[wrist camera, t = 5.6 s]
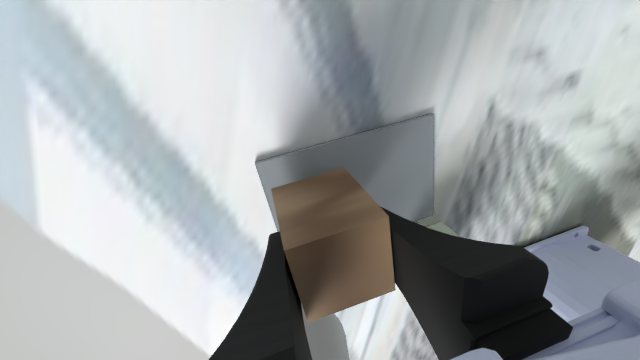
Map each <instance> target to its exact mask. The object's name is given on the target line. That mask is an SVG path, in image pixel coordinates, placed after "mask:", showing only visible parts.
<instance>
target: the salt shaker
mask: <svg viewBox="0 0 640 360" xmlns="http://www.w3.org/2000/svg"><path fill="white" fill-rule="evenodd" d="M301 306H302V303H301ZM302 313H303V320H304V325H305V331H306V335H307V339H308V343H309V348H310V352H311V356H312V360H349V354H348V348H347V342H346V336H345V332H344V329H343V326H342V324H341V322H340V320H339V318H338V317H336V316H335V315H334V314H330V315H328V316H325V317H322V318H320V319H317V320H314V321H312V322H309V323H308V321H307V318H306V315H305V312H304V309H303V306H302Z"/></svg>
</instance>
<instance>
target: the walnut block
mask: <svg viewBox="0 0 640 360" xmlns="http://www.w3.org/2000/svg"><path fill="white" fill-rule="evenodd" d="M271 192H272V196H273V201H274V206H275V211H276V215H277V220H278V225H279V230H280V234H281V239H282V244H283V249H284V252H285V255H286V258H287V261H288V264H289V267H290V270H291V273H292V276H293V279H294V282H295V285H296V288H297V291H298V294H299V297H300V300H301V303H302V306H303V309H304V312H305V315H306V318H307V321H308V323H309V322H312V321H314V320H317V319H320V318H322V317H325V316H328V315H330V314H333V313H336V312H338V311H341V310H344V309H346V308H349V307H352V306H354V305H357V304H360V303H362V302H365V301H368V300H370V299H373V298H376V297H378V296H381V295H384V294H386V293H389V292H392V291H394V290H395V281H394V270H393V258H392V247H391V235H390V224H389V216H388V215H387V214H386V213H385V212H384V210H383V209H382V208H381V207H380V206H379V205H378V204H377V203H376V202H375V201H374V200H373V198H372V197H371V196H370V195H369V194H368V193H367V192H366V191H365V190H364V189H363V188H362V187H361V185H360V184H359V183H358V182H357V181H356V180H355V179H354V178H353V177H352V176H351V175H350V173H349V172H348V171H347V170H346V169H345V168H344V167H343V168H340V169H336V170H333V171H330V172H326V173H323V174H319V175H316V176H312V177H309V178H306V179H302V180H299V181H295V182H292V183H288V184H285V185H282V186H278V187H275V188H271Z"/></svg>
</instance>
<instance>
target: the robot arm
mask: <svg viewBox="0 0 640 360" xmlns="http://www.w3.org/2000/svg"><path fill="white" fill-rule="evenodd" d="M380 207H381V206H380ZM381 208H382V209H383V210H384V212H385V213H386V214H387V215H388V216H389V224H390V235H391V247H392V258H393V270H394V281H395V283H396V285H397V286H398V287H399V289H400V291H401V292H402V294H403V295H404V297H405V298H406V300H407V302H408V304H409V305H410V307H411V309H412V311H413V312H414V314H415V316H416V318H417V319H418V321H419V323H420V325H421V327H422V328H423V330H424V332H425V334H426V336H427V338H428V340H429V341H430V343H431V345H432V347H433V349H434V351H435V353H436V355H437V357H438V359H439V360H640V262H638V261H636V260H634V259H632V258H630V257H628V256H626V255H624V254H622V253H620V252H618V251H616V250H615V249H613V248H611V247H609V246H607V245H605V244H603V243H601V242H599V241H597V240H595V239H593V238H592V237H590V236H588V235H587V234H588V231H589V228H588V227H586V226H584V225H583V226H580V227H577V228H574V229H572V230H569V231H566V232H564V233H561V234H559V235H556V236H553V237H551V238H548V239H545V240H543V241H540V242H537V243H535V244H532V245H530V246H527V247H524V248H523V247H522V246H513V245H504V244H495V243H488V242H482V241H476V240H471V239H466V238H462V237H458V236H453V235H450V234H446V233H442V232H439V231H436V230H433V229H430V228H427V227H424V226H422V225H419V224H417V223H414V222H412V221H410V220H407V219H405V218H403V217H401V216H399V215H397V214H395V213H393V212H391V211H389V210H387V209H385V208H383V207H381ZM209 360H312V356H311V352H310V348H309V343H308V339H307V335H306V331H305V325H304V320H303V313H302V306H301V300H300V297H299V294H298V291H297V288H296V285H295V282H294V279H293V276H292V273H291V270H290V267H289V264H288V261H287V258H286V255H285V252H284V249H283V244H282V239H281V234H280V231H279V232H276V233H273V234H270V236H269V240H268V246H267V250H266V254H265V258H264V261H263V265H262V268H261V271H260V273H259V276H258V279H257V281H256V284H255V286H254V289H253V291H252V293H251V295H250V297H249V299H248V301H247V303H246V305H245V307H244V309H243V310H242V312H241V314H240V316H239V317H238V319H237V321H236V322H235V324H234V325H233V327H232V328H231V330H230V331H229V333H228V334H227V336H226V338H225V339H224V340H223V342H222V343H221V345H220V346H219V347H218V348H217V350H216V351H215V352H214V354H213V355H212V356H211V357H210V359H209Z"/></svg>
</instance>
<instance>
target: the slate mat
mask: <svg viewBox="0 0 640 360" xmlns="http://www.w3.org/2000/svg"><path fill="white" fill-rule="evenodd" d="M255 165H256V168H257V171H258V174H259V177H260V180H261V183H262V186H263V189H264V192H265V195H266V198H267V201H268V204H269V207H270V210H271V213H272V216H273V219H274V222H275V225H276V228H277V231H278V232H279V231H280V230H279V225H278V220H277V215H276V211H275V206H274V201H273V196H272V192H271V188H275V187H278V186H282V185H285V184H288V183H292V182H295V181H299V180H302V179H306V178H309V177H312V176H316V175H319V174H323V173H326V172H330V171H333V170H336V169H340V168H343V167H344V168H345V169H346V170H347V171H348V172H349V173H350V175H351V176H352V177H353V178H354V179H355V180H356V181H357V182H358V183H359V184H360V185H361V187H362V188H363V189H364V190H365V191H366V192H367V193H368V194H369V195H370V196H371V197H372V198H373V200H374V201H375V202H376V203H377V204H378V205H379V206H381V207H383V208H385V209H387V210H389V211H391V212H393V213H395V214H397V215H399V216H401V217H403V218H405V219H407V220H410V221H412V222H413V221H416V220H419V219H422V218H425V217H428V216H431V215H433V190H434V114H427V115H424V116H420V117H417V118H413V119H409V120H406V121H402V122H398V123H395V124H391V125H388V126H384V127H380V128H377V129H373V130H369V131H366V132H362V133H359V134H355V135H351V136H348V137H344V138H340V139H337V140H333V141H330V142H326V143H322V144H319V145H315V146H311V147H308V148H304V149H300V150H297V151H293V152H290V153H286V154H282V155H279V156H275V157H271V158H268V159H264V160H261V161H257V162H255Z"/></svg>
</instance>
